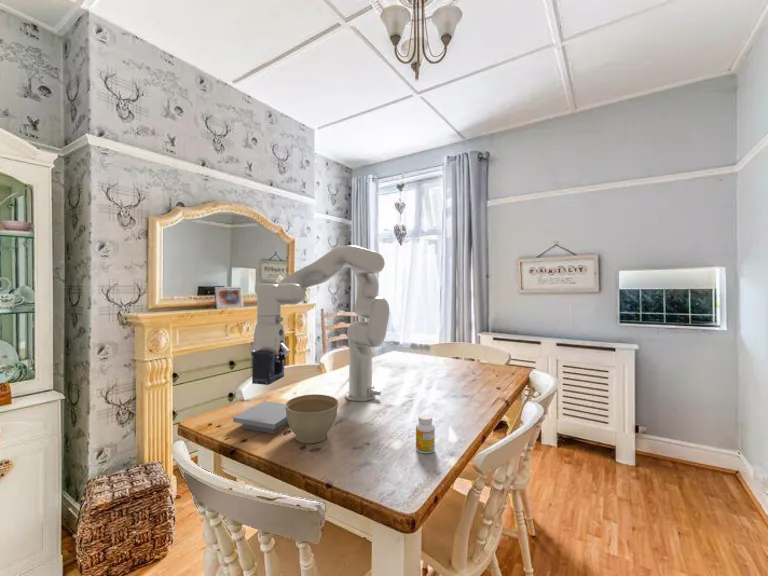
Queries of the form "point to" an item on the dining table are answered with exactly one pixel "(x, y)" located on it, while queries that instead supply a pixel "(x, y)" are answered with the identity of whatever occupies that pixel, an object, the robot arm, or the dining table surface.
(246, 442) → the dining table surface
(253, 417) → the stand
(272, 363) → the small box
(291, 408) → the planter bowl
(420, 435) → the supplement bottle
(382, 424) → the dining table surface
